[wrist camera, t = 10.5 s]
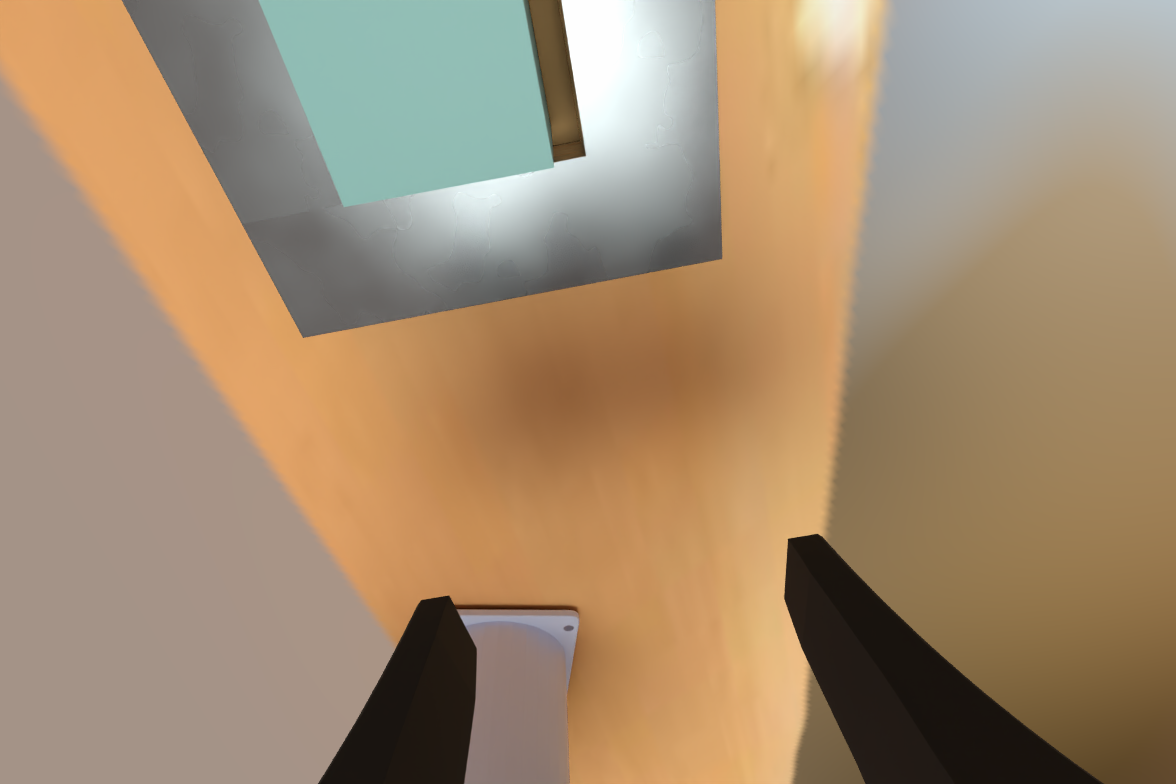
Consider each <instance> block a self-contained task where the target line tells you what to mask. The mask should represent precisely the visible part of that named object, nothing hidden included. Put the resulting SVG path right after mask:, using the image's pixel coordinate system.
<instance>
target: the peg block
mask: <svg viewBox="0 0 1176 784" xmlns="http://www.w3.org/2000/svg"><path fill="white" fill-rule="evenodd" d="M259 3H260V5H261V8H262V10H263V12H264V15H265V17H266V20H267V22H268V25H269V27H270V29H271V32H272V34H273V37H274V39H275V42H276V44H277V46H278V49H279V51H280V54H281V56H282V59H283V61H284V63H285V66H286V68H287V71H288V73H289V76H290V78H291V80H292V83H293V85H294V88H295V90H296V92H297V95H298V97H299V100H300V102H301V105H302V107H303V109H304V112H305V114H306V117H307V119H308V122H309V124H310V126H311V129H312V131H313V134H314V136H315V139H316V141H317V143H318V146H319V148H320V151H321V153H322V156H323V158H324V160H325V163H326V165H327V168H328V170H329V172H330V175H331V177H332V180H333V182H334V185H335V187H336V189H337V192H338V194H339V197H340V199H341V202H342V204H343V206H344V207H348V206H353V205H359V204H364V203H369V202H375V201H380V200H385V199H391V198H396V197H401V196H407V195H412V194H417V193H423V192H428V191H433V190H439V189H444V188H449V187H455V186H460V185H465V184H471V183H476V182H481V181H487V180H492V179H497V178H503V177H508V176H513V175H519V174H524V173H529V172H535V171H540V170H545V169H551V168H554V159H553V146H552V132H551V123H550V118H549V112H548V107H547V101H546V95H545V90H544V84H543V79H542V73H541V68H540V62H539V57H538V51H537V46H536V40H535V35H534V29H533V24H532V18H531V13H530V7H529V1H528V0H259Z"/></svg>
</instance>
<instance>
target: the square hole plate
mask: <svg viewBox="0 0 1176 784" xmlns="http://www.w3.org/2000/svg"><path fill="white" fill-rule="evenodd" d="M122 1H123V3H124V5H125V7H126V9H127V11H128V13H129V14H130V16H131V18H132V20H133V22H134V24H135V26H136V28H137V29H138V31H139V33H140V35H141V37H142V39H143V41H144V42H145V44H146V46H147V48H148V50H149V52H150V54H151V55H152V57H153V59H154V61H155V63H156V65H157V67H158V68H159V70H160V72H161V74H162V76H163V78H164V80H165V82H166V83H167V85H168V87H169V89H170V91H171V93H172V95H173V96H174V98H175V100H176V102H177V104H178V106H179V108H180V109H181V111H182V113H183V115H184V117H185V119H186V121H187V122H188V124H189V126H190V128H191V130H192V132H193V134H194V135H195V137H196V139H197V141H198V143H199V145H200V147H201V149H202V150H203V152H204V154H205V156H206V158H207V160H208V162H209V163H210V165H211V167H212V169H213V171H214V173H215V175H216V176H217V178H218V180H219V182H220V184H221V186H222V188H223V189H224V191H225V193H226V195H227V197H228V199H229V201H230V203H231V204H232V206H233V208H234V210H235V212H236V214H237V216H238V217H239V219H240V221H241V223H242V225H243V227H244V229H245V230H246V232H247V234H248V236H249V238H250V240H251V242H252V243H253V245H254V247H255V249H256V251H257V253H258V255H259V257H260V258H261V260H262V262H263V264H264V266H265V268H266V270H267V271H268V273H269V275H270V277H271V279H272V281H273V283H274V284H275V286H276V288H277V290H278V292H279V294H280V296H281V297H282V299H283V301H284V303H285V305H286V307H287V309H288V311H289V312H290V314H291V316H292V318H293V320H294V322H295V324H296V325H297V327H298V329H299V331H300V333H301V335H302V337H303V338H304V337H310V336H315V335H320V334H326V333H331V332H336V331H342V330H347V329H352V328H357V327H363V326H368V325H373V324H379V323H384V322H389V321H395V320H400V319H405V318H411V317H416V316H421V315H426V314H432V313H437V312H442V311H448V310H453V309H458V308H464V307H469V306H474V305H480V304H485V303H490V302H496V301H501V300H506V299H511V298H517V297H522V296H527V295H533V294H538V293H543V292H549V291H554V290H559V289H565V288H570V287H575V286H581V285H586V284H591V283H596V282H602V281H607V280H612V279H618V278H623V277H628V276H634V275H639V274H644V273H650V272H655V271H660V270H665V269H671V268H676V267H681V266H687V265H692V264H697V263H703V262H708V261H713V260H719V259H722V232H721V196H720V160H719V124H718V88H717V52H716V16H715V0H558V5H559V11H560V17H561V24H562V30H563V36H564V42H565V48H566V54H567V60H568V67H569V73H570V79H571V85H572V91H573V97H574V103H575V110H576V116H577V122H578V128H579V134H580V140H581V141H577V142H572V143H567V144H562V145H557V146H553V159H554V168H551V169H545V170H540V171H535V172H529V173H524V174H519V175H513V176H508V177H503V178H497V179H492V180H487V181H481V182H476V183H471V184H465V185H460V186H455V187H449V188H444V189H439V190H433V191H428V192H423V193H417V194H412V195H407V196H401V197H396V198H391V199H385V200H380V201H375V202H369V203H364V204H359V205H353V206H348V207H344V206H343V204H342V202H341V199H340V197H339V194H338V192H337V189H336V187H335V185H334V182H333V180H332V177H331V175H330V172H329V170H328V168H327V165H326V163H325V160H324V158H323V156H322V153H321V151H320V148H319V146H318V143H317V141H316V139H315V136H314V134H313V131H312V129H311V126H310V124H309V122H308V119H307V117H306V114H305V112H304V109H303V107H302V105H301V102H300V100H299V97H298V95H297V92H296V90H295V88H294V85H293V83H292V80H291V78H290V76H289V73H288V71H287V68H286V66H285V63H284V61H283V59H282V56H281V54H280V51H279V49H278V46H277V44H276V42H275V39H274V37H273V34H272V32H271V29H270V27H269V25H268V22H267V20H266V17H265V15H264V12H263V10H262V8H261V5H260V3H259V0H122Z"/></svg>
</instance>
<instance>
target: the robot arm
mask: <svg viewBox="0 0 1176 784" xmlns="http://www.w3.org/2000/svg"><path fill="white" fill-rule="evenodd" d="M784 599H785V602H786V605H787V608H788V611H789V614H790V616H791V619H792V622H793V625H794V628H795V631H796V633H797V636H798V639H799V642H800V644H801V647H802V649H803V652H804V654H805V656H806V658H807V660H808V662H809V664H810V667H811V669H812V671H813V673H814V675H815V677H816V679H817V681H818V684H819V685H820V688H821V689H822V692H823V694H824V696H825V698H826V700H827V702H828V704H829V706H830V708H831V711H832V713H833V715H834V717H835V719H836V721H837V723H838V725H839V728H840V730H841V732H842V734H843V736H844V738H845V740H846V742H847V744H848V746H849V748H850V750H851V752H852V755H853V757H854V759H855V761H856V763H857V765H858V768H859V770H860V772H861V774H862V777H863V779H864V781H865V783H866V784H1103V783H1102V782H1100V781H1099V780H1098V779H1096V778H1095V777H1093V776H1092V775H1090V774H1089V773H1088V772H1086V771H1085V770H1084V769H1082V768H1081V767H1079V766H1078V765H1077V764H1075V763H1074V762H1072V761H1071V760H1070V759H1068V758H1067V757H1066V756H1064V755H1063V754H1062V753H1060V752H1059V751H1058V750H1056V749H1055V748H1054V747H1052V746H1051V745H1050V744H1049V743H1047V742H1046V741H1045V740H1043V739H1042V738H1040V737H1039V736H1038V735H1037V734H1035V733H1034V732H1033V731H1032V730H1030V729H1029V728H1028V727H1026V726H1025V725H1023V723H1021V722H1020V721H1019V720H1017V719H1016V718H1015V717H1014V716H1012V715H1011V714H1010V713H1009V712H1007V711H1006V710H1005V709H1004V708H1002V707H1001V706H1000V705H999V704H997V703H996V702H995V701H994V700H993V699H991V698H990V697H989V696H988V695H986V694H985V693H984V692H983V691H982V690H981V689H979V688H978V687H977V686H975V684H973V683H972V682H971V681H970V680H969V679H968V678H966V677H965V676H964V675H963V674H962V673H961V672H959V671H958V670H957V669H956V668H955V667H953V665H952V664H950V663H949V662H948V661H947V660H946V659H945V658H944V657H942V656H941V655H940V654H939V653H938V652H937V651H936V650H935V649H933V648H932V647H931V646H930V645H929V644H928V643H927V642H926V641H925V640H924V639H923V638H921V637H920V636H919V635H918V634H917V633H916V632H915V631H914V630H913V629H912V628H911V627H910V626H909V625H908V624H907V623H906V622H904V620H902V619H901V618H900V617H899V616H898V615H897V614H896V613H895V612H894V611H893V610H892V609H891V608H890V607H889V606H888V605H887V604H886V603H885V602H884V601H883V600H882V599H881V598H880V597H879V596H878V595H877V594H876V593H875V592H874V591H872V589H871V588H870V587H869V586H868V585H867V584H866V583H865V582H864V581H863V580H862V579H861V578H860V577H859V576H858V575H857V574H856V573H855V572H854V571H853V570H852V569H851V567H849V565H848V564H847V563H846V562H845V561H844V560H843V559H842V558H841V557H840V556H839V555H838V554H837V553H836V551H835V550H834V549H833V548H832V547H831V546H830V545H829V544H828V543H827V541H826V540H825V539H824V538H823V537H822V536H820V535H819V534H814V535H808V536H802V537H796V538H790V539H788V548H787V564H786V579H785V595H784ZM578 627H579V614H578V613H577V612H576V611H574V610H484V609H456V608H455V606H454V604H453V602H452V600H451V598H450V596H444V597H438V598H432V599H426V600H421V601H420V603H419V604H418V606H417V608H416V610H415V612H414V614H413V616H412V618H411V620H410V622H409V624H408V626H407V628H406V630H405V631H404V633H403V635H402V637H401V639H400V641H399V643H398V645H397V647H396V649H395V651H394V653H393V655H392V657H391V659H390V661H389V662H388V664H387V666H386V668H385V670H384V672H383V674H382V676H381V678H380V679H379V681H378V683H377V685H376V687H375V688H374V690H373V692H372V694H371V696H370V697H369V699H368V701H367V703H366V705H365V707H364V708H363V710H362V712H361V714H360V715H359V717H358V719H357V721H356V723H355V724H354V726H353V727H352V729H351V731H350V732H349V734H348V736H347V737H346V739H345V741H344V742H343V744H342V746H341V747H340V749H339V751H338V752H337V754H336V756H335V757H334V759H333V761H332V762H331V764H330V766H329V767H328V769H327V770H326V772H325V774H324V775H323V777H322V778H321V780H320V781H319V783H318V784H570V776H569V746H568V715H567V692H568V686H569V680H570V674H571V668H572V662H573V656H574V650H575V644H576V638H577V632H578Z"/></svg>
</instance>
